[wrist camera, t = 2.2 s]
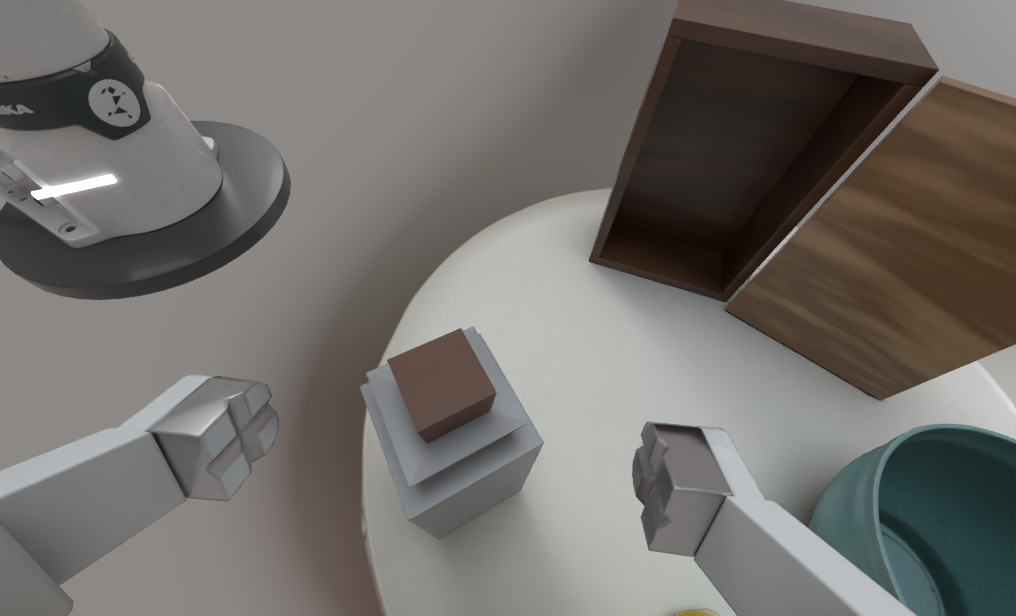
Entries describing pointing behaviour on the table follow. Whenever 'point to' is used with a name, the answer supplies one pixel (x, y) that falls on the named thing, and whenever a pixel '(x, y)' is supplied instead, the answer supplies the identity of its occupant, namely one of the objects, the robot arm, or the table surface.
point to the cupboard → (749, 134)
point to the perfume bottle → (450, 430)
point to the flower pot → (930, 519)
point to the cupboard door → (905, 251)
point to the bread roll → (698, 613)
